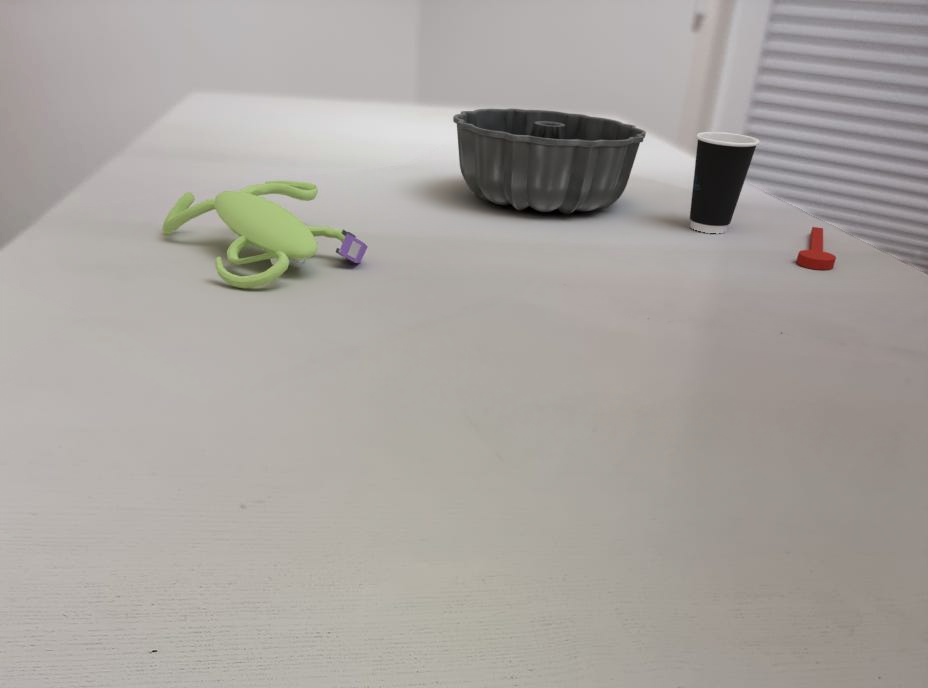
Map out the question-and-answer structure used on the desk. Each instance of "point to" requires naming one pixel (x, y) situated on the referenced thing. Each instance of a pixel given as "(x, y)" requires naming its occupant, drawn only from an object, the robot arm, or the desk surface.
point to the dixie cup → (719, 178)
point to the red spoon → (816, 253)
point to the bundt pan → (545, 158)
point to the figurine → (264, 229)
